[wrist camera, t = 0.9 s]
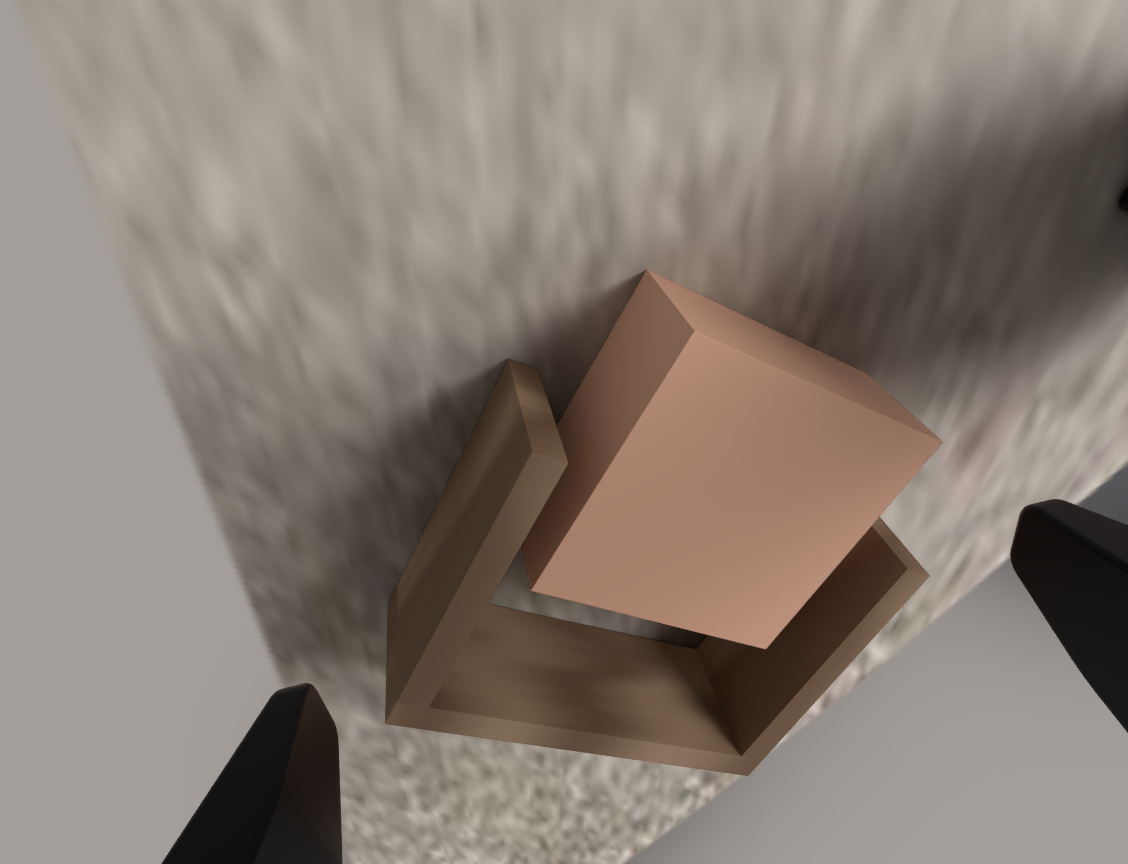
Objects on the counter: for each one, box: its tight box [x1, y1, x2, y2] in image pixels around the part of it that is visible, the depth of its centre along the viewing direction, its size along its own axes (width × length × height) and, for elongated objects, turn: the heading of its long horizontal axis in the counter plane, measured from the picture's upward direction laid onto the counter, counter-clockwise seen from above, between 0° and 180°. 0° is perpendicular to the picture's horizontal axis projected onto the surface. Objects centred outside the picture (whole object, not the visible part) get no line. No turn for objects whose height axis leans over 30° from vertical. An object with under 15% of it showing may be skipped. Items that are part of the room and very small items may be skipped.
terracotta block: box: [522, 270, 943, 649], centre depth 23 cm, size 9×9×4 cm
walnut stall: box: [385, 359, 930, 776], centre depth 25 cm, size 14×10×5 cm
